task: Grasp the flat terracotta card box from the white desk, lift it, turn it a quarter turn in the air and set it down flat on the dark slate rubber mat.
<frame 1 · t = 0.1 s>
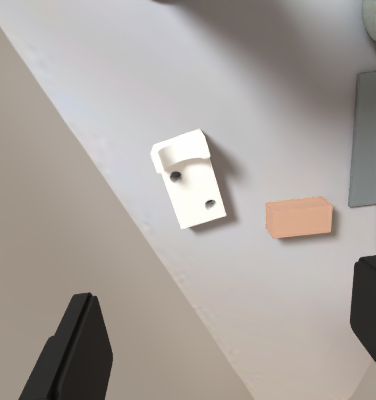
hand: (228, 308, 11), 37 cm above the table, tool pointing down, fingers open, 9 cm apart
bracket: (189, 176, 48), on the table
card box: (292, 211, 51), on the table
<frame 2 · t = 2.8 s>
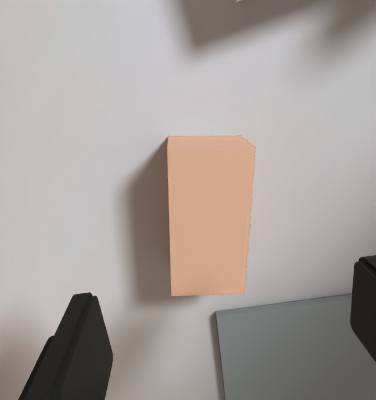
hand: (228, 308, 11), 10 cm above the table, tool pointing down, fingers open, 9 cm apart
card box: (203, 202, 21), on the table
mat: (339, 362, 27), on the table
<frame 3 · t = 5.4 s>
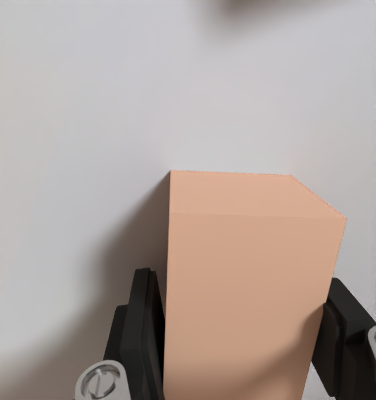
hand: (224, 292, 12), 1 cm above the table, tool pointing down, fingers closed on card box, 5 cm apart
card box: (220, 276, 13), on the table, touching gripper
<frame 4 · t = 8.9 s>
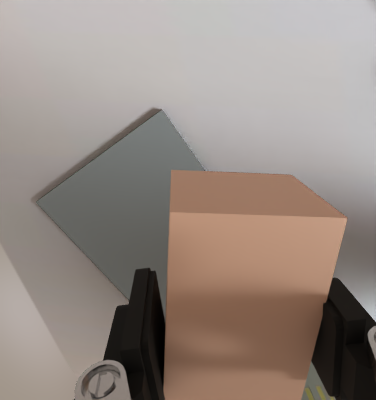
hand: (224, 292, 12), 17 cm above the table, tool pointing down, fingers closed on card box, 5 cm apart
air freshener: (277, 336, 36), on the table
card box: (220, 275, 13), point 16 cm above the table, touching gripper
mat: (164, 238, 31), on the table
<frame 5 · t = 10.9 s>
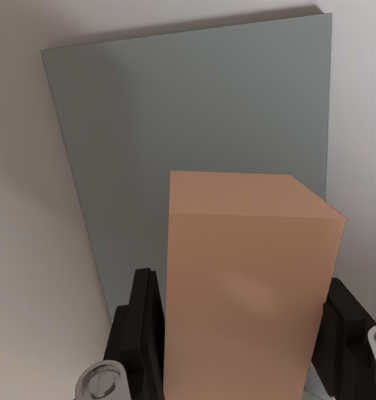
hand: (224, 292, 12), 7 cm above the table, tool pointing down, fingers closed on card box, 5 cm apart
card box: (220, 276, 13), point 6 cm above the table, touching gripper
mat: (206, 217, 19), on the table
when the fingers open (2 cm above the table, at t = 12.7 s): card box stays where it is, resting on mat.
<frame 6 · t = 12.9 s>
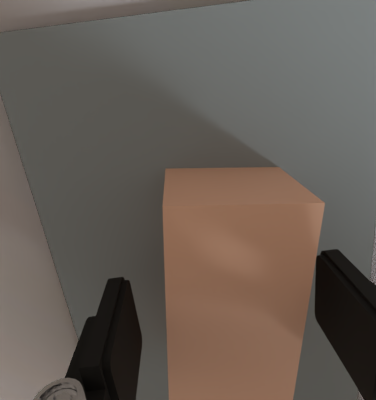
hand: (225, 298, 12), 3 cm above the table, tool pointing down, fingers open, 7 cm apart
card box: (218, 266, 14), point 1 cm above the table, touching mat
mat: (215, 258, 14), on the table
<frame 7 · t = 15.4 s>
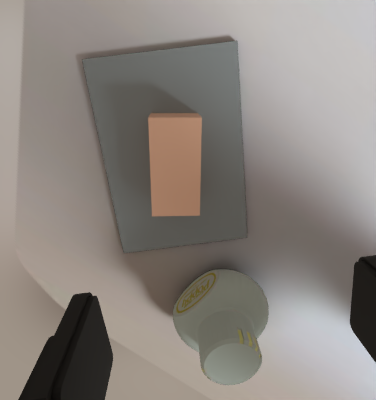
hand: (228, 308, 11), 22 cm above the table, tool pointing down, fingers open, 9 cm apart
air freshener: (216, 295, 39), on the table
card box: (174, 159, 31), point 1 cm above the table, touching mat
mat: (174, 157, 32), on the table
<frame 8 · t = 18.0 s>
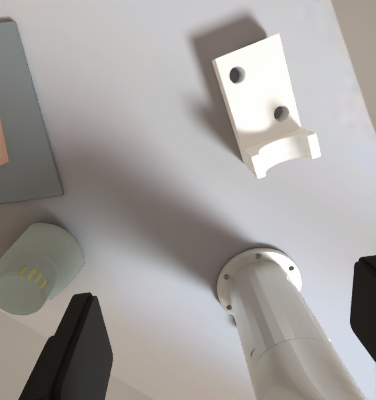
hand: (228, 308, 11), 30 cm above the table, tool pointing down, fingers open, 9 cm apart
bracket: (254, 104, 39), on the table
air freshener: (50, 249, 44), on the table
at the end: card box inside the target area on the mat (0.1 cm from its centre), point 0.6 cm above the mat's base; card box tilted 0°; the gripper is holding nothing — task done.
